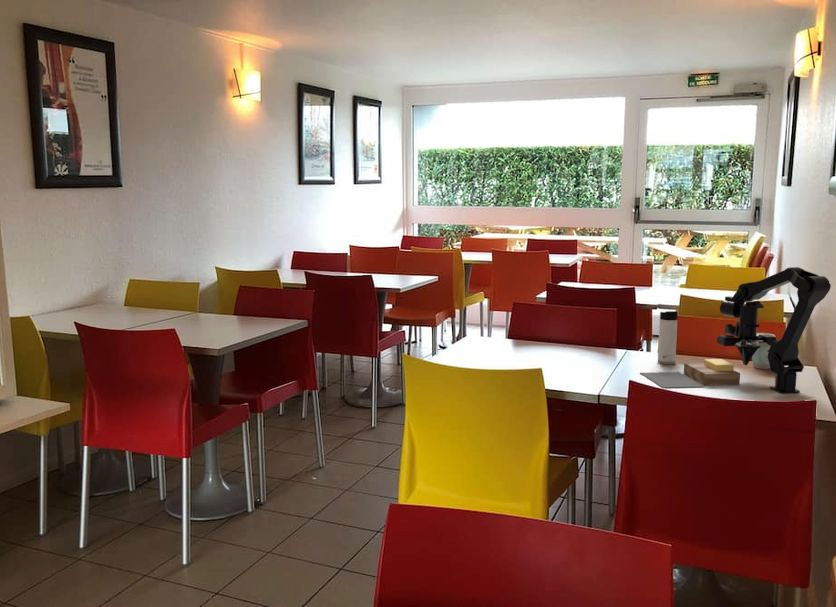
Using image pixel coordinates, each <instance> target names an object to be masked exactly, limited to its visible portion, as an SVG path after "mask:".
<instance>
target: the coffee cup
mask: <svg viewBox="0 0 836 607" xmlns="http://www.w3.org/2000/svg"><path fill="white" fill-rule="evenodd" d="M763 334H769V335H772V336H775V337H776V335H775V334H773V333H766V332H757V335H756V336H759V335H763ZM759 346H761V348H758V349H757V351H756V352H755V353H754V355H753V356H752V358H751V360H752V367H753V368H755V367H756V368H755V369H761V370H765V369H766V370H767V369H770V365H769V360H768V358H767V357H768V353H769V352H767V351H768V350H769V348H770V346H771V345H768V344H767V343H759Z"/></svg>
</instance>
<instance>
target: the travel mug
mask: <svg viewBox="0 0 836 607" xmlns="http://www.w3.org/2000/svg"><path fill="white" fill-rule="evenodd" d="M678 313H679V311H677V310H676V311H675V310H674V311H671V310H669V311H660V313H659V326H658V328H659V330H658V348H657V363H658V364H661V365H665V366H672V365H674V364H676V358H677V357H676V356H677V355H676V354H677V352H676V351H677V336H678V334H677V333H678V317H679V316H678V315H679V314H678Z"/></svg>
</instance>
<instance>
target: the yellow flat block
mask: <svg viewBox="0 0 836 607" xmlns="http://www.w3.org/2000/svg"><path fill="white" fill-rule="evenodd" d="M703 360H704V361H703V363H704V365H705V366H707V367H709V368H711V369H713V370H715V371H734V370H735V365H734V364H732V363H731V362H728V361H727V360H724V359H722V358H710V359H709V358H704V359H703Z"/></svg>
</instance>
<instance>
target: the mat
mask: <svg viewBox="0 0 836 607" xmlns="http://www.w3.org/2000/svg"><path fill="white" fill-rule="evenodd" d="M639 374H640V375H642V376H643V377H645V378H646V379H648V380H649V381H650V382H652V383H654V384H655V385H657V386H659V387H660V388H662V387H663V388H662V389H688V388H691V389H692V388H693V389H695V388H698V389H699V388H705V386H704V385H702V384H701V383H699V382H697V381H695V380H693V379H692V378H690V377H688V376H686V375H685V374H684V373H681V372H679V371H663V372H662V371H660V372H659V371H656V372H654V371H653V372H651V371H650V372H649V371H648V372H640V373H639Z"/></svg>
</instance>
